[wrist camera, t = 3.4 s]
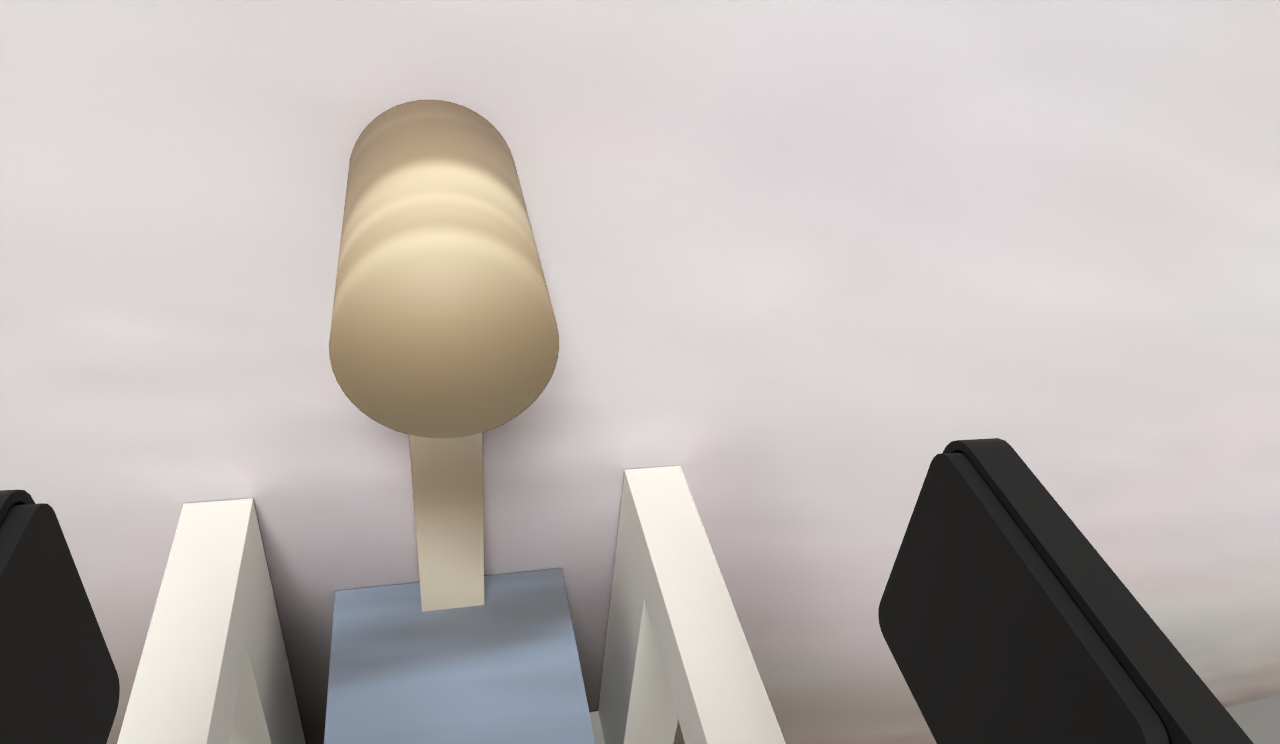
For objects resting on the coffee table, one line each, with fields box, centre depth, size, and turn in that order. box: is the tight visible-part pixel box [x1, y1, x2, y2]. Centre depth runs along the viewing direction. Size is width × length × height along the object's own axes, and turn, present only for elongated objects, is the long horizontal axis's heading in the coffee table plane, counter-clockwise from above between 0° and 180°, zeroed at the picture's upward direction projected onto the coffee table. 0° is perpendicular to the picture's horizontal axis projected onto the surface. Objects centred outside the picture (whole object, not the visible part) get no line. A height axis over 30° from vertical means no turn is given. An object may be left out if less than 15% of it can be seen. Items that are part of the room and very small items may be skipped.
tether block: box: [324, 100, 595, 744], centre depth 20 cm, size 19×6×6 cm, turn 175°
